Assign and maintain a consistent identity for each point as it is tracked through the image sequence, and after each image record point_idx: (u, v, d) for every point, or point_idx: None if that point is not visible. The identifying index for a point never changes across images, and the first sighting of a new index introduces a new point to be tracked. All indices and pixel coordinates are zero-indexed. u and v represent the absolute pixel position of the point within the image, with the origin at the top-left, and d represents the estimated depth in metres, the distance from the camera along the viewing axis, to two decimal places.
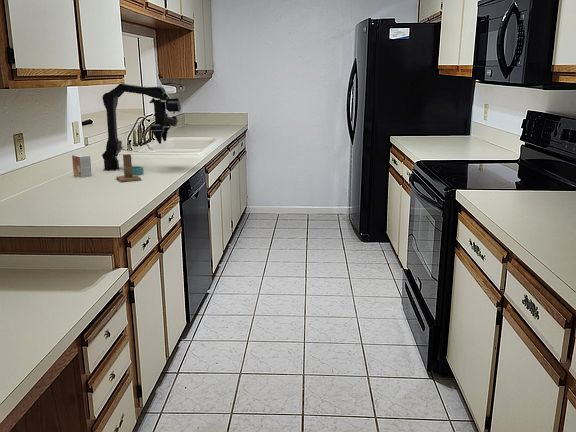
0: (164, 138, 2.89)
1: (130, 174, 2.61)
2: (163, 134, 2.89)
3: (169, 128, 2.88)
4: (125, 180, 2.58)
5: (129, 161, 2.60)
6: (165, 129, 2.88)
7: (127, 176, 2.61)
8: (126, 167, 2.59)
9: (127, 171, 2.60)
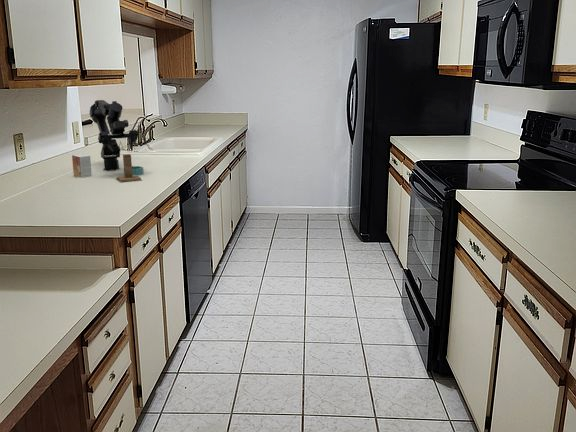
0: (131, 147, 2.70)
1: (130, 174, 2.61)
2: (130, 144, 2.71)
3: (131, 135, 2.70)
4: (125, 180, 2.58)
5: (129, 161, 2.60)
6: (130, 138, 2.71)
7: (127, 176, 2.61)
8: (126, 167, 2.59)
9: (127, 171, 2.60)
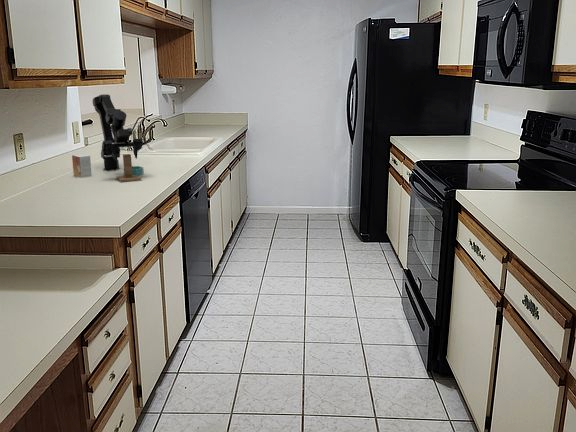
0: (135, 155, 2.63)
1: (130, 174, 2.61)
2: (134, 153, 2.65)
3: (135, 143, 2.64)
4: (125, 180, 2.58)
5: (129, 161, 2.60)
6: (134, 147, 2.65)
7: (127, 176, 2.61)
8: (126, 167, 2.59)
9: (127, 171, 2.60)
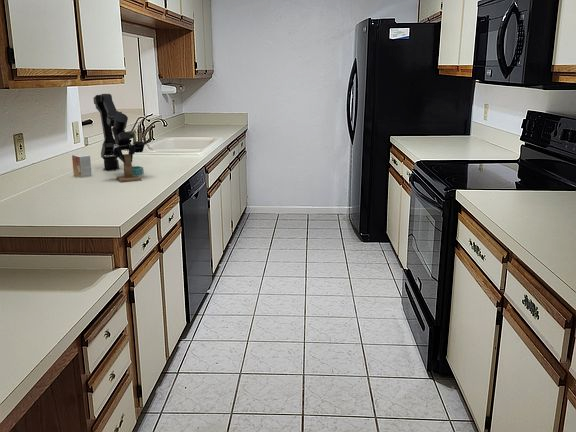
0: None
1: (130, 174, 2.61)
2: None
3: (130, 147, 2.61)
4: (125, 180, 2.58)
5: (129, 161, 2.60)
6: (129, 150, 2.62)
7: (127, 176, 2.61)
8: (126, 167, 2.59)
9: (127, 171, 2.60)
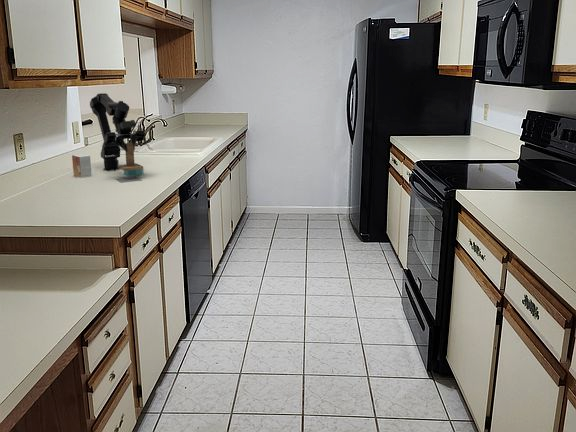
0: None
1: (132, 163, 2.65)
2: None
3: (132, 136, 2.64)
4: (128, 169, 2.61)
5: (131, 150, 2.63)
6: (131, 139, 2.65)
7: (129, 165, 2.64)
8: (128, 156, 2.63)
9: (129, 160, 2.63)
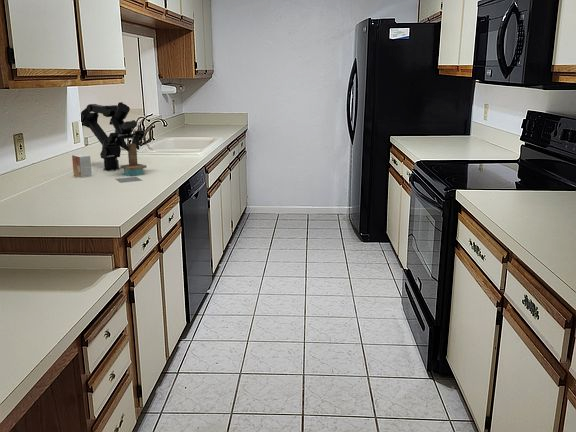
0: (137, 147, 2.75)
1: (135, 162, 2.74)
2: None
3: (136, 135, 2.75)
4: (133, 168, 2.70)
5: (134, 150, 2.73)
6: (134, 138, 2.76)
7: (133, 164, 2.73)
8: (132, 156, 2.72)
9: (133, 159, 2.73)
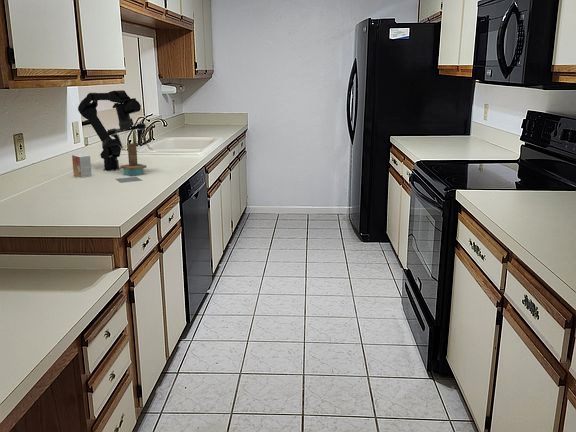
0: (139, 141, 2.80)
1: (135, 162, 2.74)
2: None
3: (138, 131, 2.76)
4: (133, 168, 2.70)
5: (134, 150, 2.73)
6: (138, 132, 2.78)
7: (133, 164, 2.73)
8: (132, 156, 2.72)
9: (133, 159, 2.73)
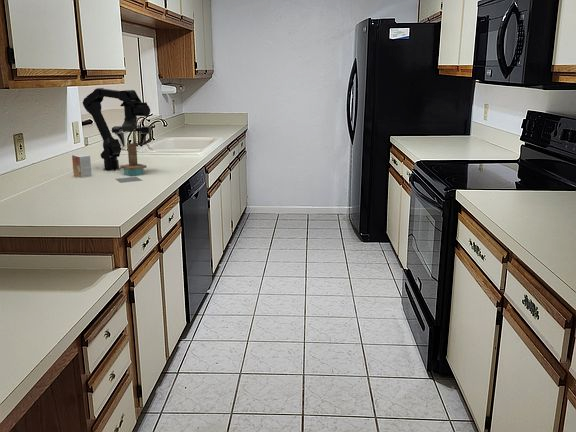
0: None
1: (135, 162, 2.74)
2: None
3: (141, 134, 2.76)
4: (133, 168, 2.70)
5: (134, 150, 2.73)
6: None
7: (133, 164, 2.73)
8: (132, 156, 2.72)
9: (133, 159, 2.73)
